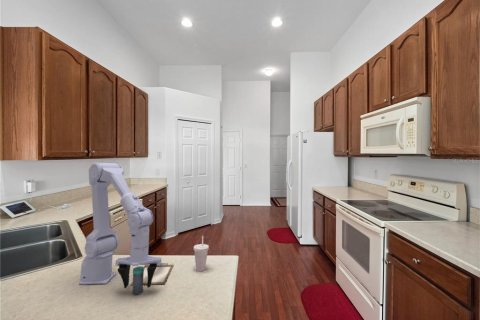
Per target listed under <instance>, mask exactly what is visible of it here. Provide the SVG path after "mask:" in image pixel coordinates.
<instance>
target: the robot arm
mask: <svg viewBox="0 0 480 320" xmlns="http://www.w3.org/2000/svg"><path fill="white" fill-rule="evenodd" d="M124 173H125V170H124V168H123V166H122V164H120V163H119V162H115V163H114V162H112V163H111V162H97V161H95V162H92V164H91V165H90V167H89V168H88V181H89V183H88V184H89V185H90V187H91V204H92V219H93V221H92V223H93V230H92V231H91V232H90V233H89V234H88V235H87V236H85V239H86V240H85V245H84V253H85V256H84V257H83V260H82V262H81V266H80V281H79V282H78V284H79V285H98V284H99V285H100V284H101V285H102V284H108V283H109V282H110V280H111V279H113V277H115V275H117V273H118V274H119V276H120V279H121V280H122V283H123V288H124V289H127V288H128V287H129V285H130V271H131V266H132V267H139V266H145V265H149V267H148V268H147V273H148V281H147V285H146V287H147V288H148V289H149V288H150V287H151V286H152V285H151V282H152V278H153V275H154V272H155V270H156V268H157V266H158V265H160V264H161V263H162V257H158V256H157V257H156V256H150V255H149V244H150V225H152V224H153V222H154V215H153V211H152V210H151V209H148V208H147V207H145V206H144V205H143V203H142V201H141V200H140V198H139V196H138V195H137V194H136V193H133V192H131V190H130V187H129V185H128V183H127V181H126V180H125V177H124V175H125V174H124ZM110 185H112V186H113V188H114V190H115V191H117V194H118V195H119V196H120V197H121V198H120V201H119V203H120V204H121V206H122V208H123V210H124V212H125V213H126V215H127V217H128V218H127V222H126V223H127V226H128V227H129V232H128V233H129V234H130V249H129V256H127V257H118V258H117V259H116V260H115V267H118V268H117V272H116V271H115V272H113V254H115V251H116V250H117V248H118V247H119V239H118V236H117V232H116V230H115V229H113V228H112V227H111V225H110V211H109V196H108V194H109V193H108V188H109V187H110Z"/></svg>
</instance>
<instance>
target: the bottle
mask: <svg viewBox="0 0 480 320" xmlns="http://www.w3.org/2000/svg"><path fill="white" fill-rule="evenodd" d="M132 274H133V275H132V282H133V286H132V291H131V292H132V295H133V296H139V295H142V293H143V291H144V285H143V274H144V266H143V265H138V266H134V268H133V269H132Z"/></svg>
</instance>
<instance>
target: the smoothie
mask: <svg viewBox="0 0 480 320" xmlns="http://www.w3.org/2000/svg"><path fill="white" fill-rule="evenodd" d="M208 250H210V248H209V244H206V243H204V235H202V236H201V243H200V244H195V245H194V246H193V252H194V262H195V270H196V272H197V273H198V272H200V273H201V272H204V271H206V270H205V269H206V265H207V257H208V252H209V251H208Z"/></svg>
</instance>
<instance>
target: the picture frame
mask: <svg viewBox="0 0 480 320" xmlns="http://www.w3.org/2000/svg"><path fill="white" fill-rule="evenodd" d="M143 267H144V274H143V286H147V281H148V273H147V268H148V267H149V265H143ZM173 267H174V264H168V262H161V264H160V265H158V266H157V268H156V270H155V272H154V275H153V278H152V282H151V286H164V285H166V283H167V282H168V281H167V280H168V279H169V276H170V274H171V272H172V270H173ZM130 286H131V287H133V281H132V282H131V283H130Z"/></svg>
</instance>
